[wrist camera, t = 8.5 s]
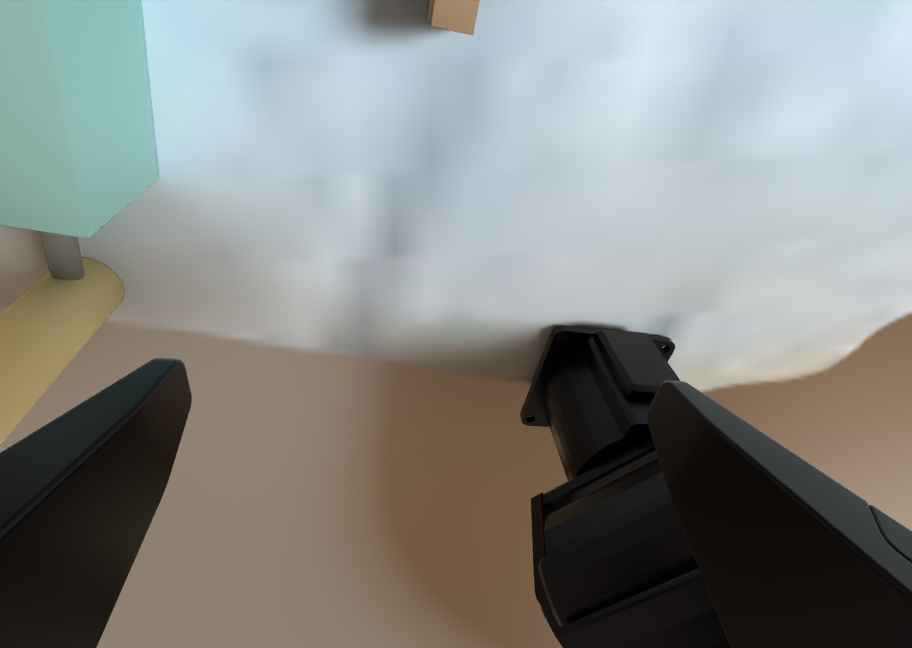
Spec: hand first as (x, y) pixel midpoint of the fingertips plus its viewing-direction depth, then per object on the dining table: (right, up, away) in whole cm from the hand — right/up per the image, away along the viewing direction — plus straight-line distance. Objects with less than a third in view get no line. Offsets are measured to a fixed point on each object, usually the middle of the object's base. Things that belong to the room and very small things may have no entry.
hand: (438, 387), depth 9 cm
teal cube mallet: (-13, +7, +8) cm, 17 cm away
